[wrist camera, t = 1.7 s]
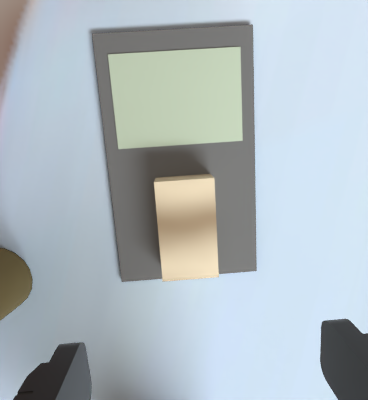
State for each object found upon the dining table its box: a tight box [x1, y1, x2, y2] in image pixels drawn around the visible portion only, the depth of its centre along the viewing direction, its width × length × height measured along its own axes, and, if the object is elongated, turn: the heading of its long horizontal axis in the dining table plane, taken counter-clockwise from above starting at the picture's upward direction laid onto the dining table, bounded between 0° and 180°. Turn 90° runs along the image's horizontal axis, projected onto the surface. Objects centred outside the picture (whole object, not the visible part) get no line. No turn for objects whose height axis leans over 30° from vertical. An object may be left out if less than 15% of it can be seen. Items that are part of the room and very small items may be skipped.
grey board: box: [92, 25, 256, 282], centre depth 24 cm, size 20×12×1 cm, turn 4°
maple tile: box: [154, 174, 219, 281], centre depth 24 cm, size 8×4×2 cm, turn 4°
